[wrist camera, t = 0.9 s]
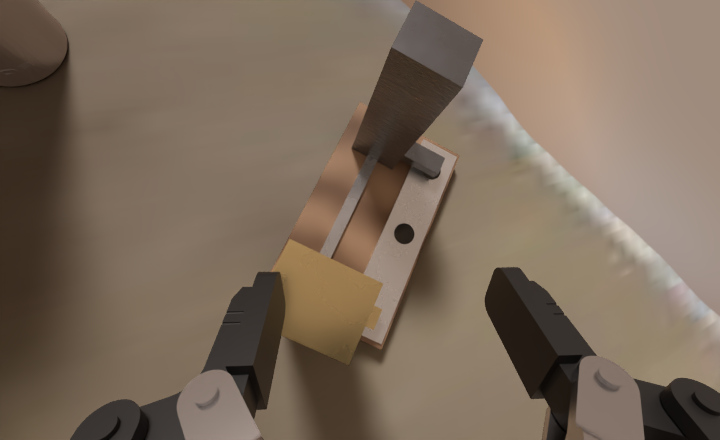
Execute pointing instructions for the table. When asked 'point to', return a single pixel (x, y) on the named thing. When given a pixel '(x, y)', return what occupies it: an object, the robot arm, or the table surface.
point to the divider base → (391, 164)
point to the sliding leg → (325, 302)
